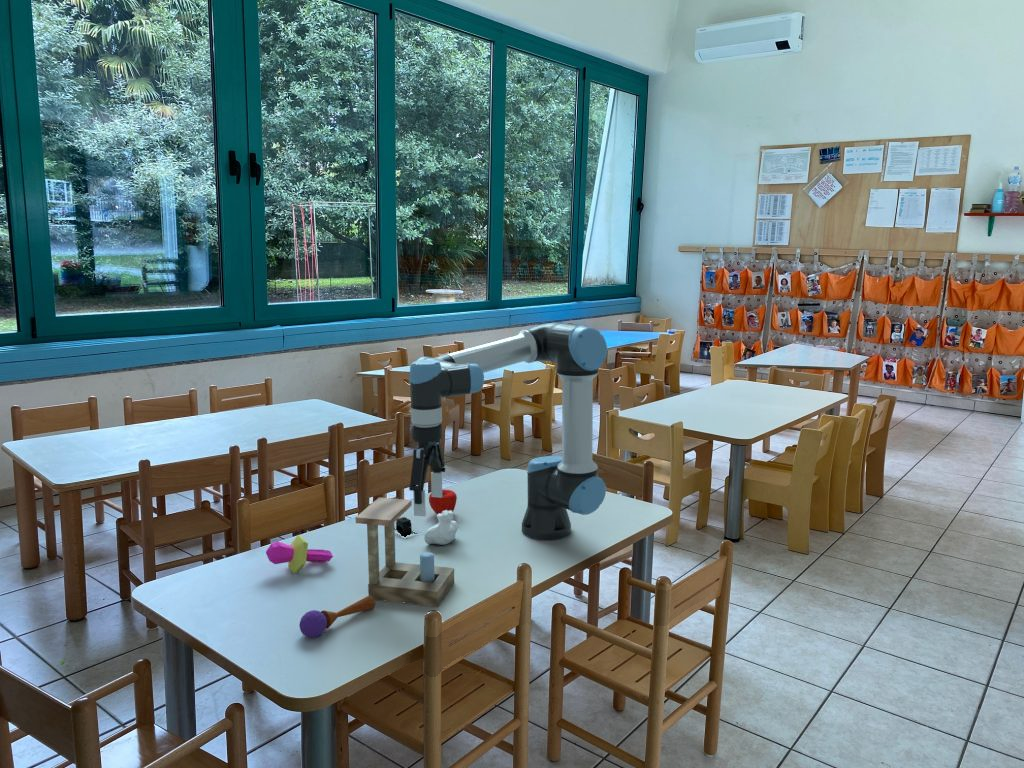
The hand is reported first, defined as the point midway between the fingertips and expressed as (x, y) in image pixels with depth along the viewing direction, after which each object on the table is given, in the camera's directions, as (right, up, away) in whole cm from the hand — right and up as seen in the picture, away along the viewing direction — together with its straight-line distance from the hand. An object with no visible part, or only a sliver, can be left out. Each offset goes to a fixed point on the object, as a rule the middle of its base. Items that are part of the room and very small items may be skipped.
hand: (428, 506), depth 197 cm
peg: (-1, -22, +3) cm, 23 cm away
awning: (-11, -18, +5) cm, 22 cm away
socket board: (-5, -22, +4) cm, 23 cm away
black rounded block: (-12, -15, +43) cm, 47 cm away
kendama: (-20, -26, -13) cm, 35 cm away
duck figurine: (+1, -16, +35) cm, 39 cm away
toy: (-37, -20, +16) cm, 45 cm away
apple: (-1, -12, +58) cm, 59 cm away
